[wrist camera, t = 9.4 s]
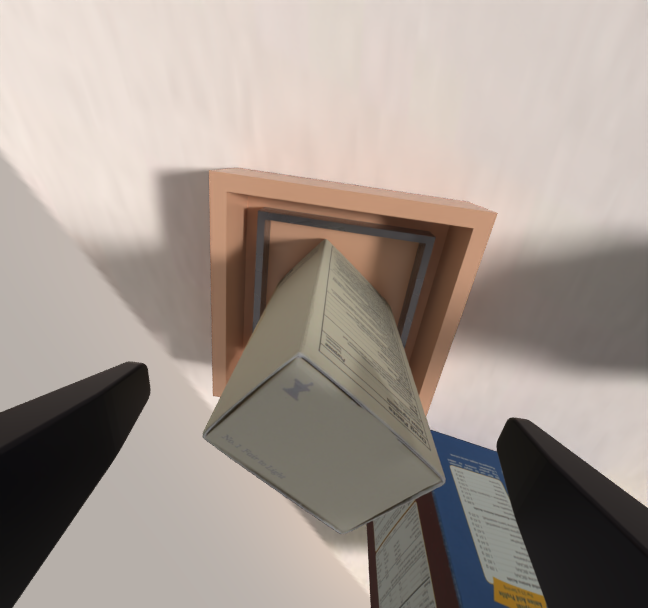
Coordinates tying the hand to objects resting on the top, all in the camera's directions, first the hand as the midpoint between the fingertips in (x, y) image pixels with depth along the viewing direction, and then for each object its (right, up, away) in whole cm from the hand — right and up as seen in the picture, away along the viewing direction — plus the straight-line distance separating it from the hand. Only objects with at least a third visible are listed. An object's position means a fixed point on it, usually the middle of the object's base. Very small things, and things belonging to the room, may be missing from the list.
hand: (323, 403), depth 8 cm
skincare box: (+1, +3, +12) cm, 13 cm away
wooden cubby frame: (+1, +3, +13) cm, 13 cm away
